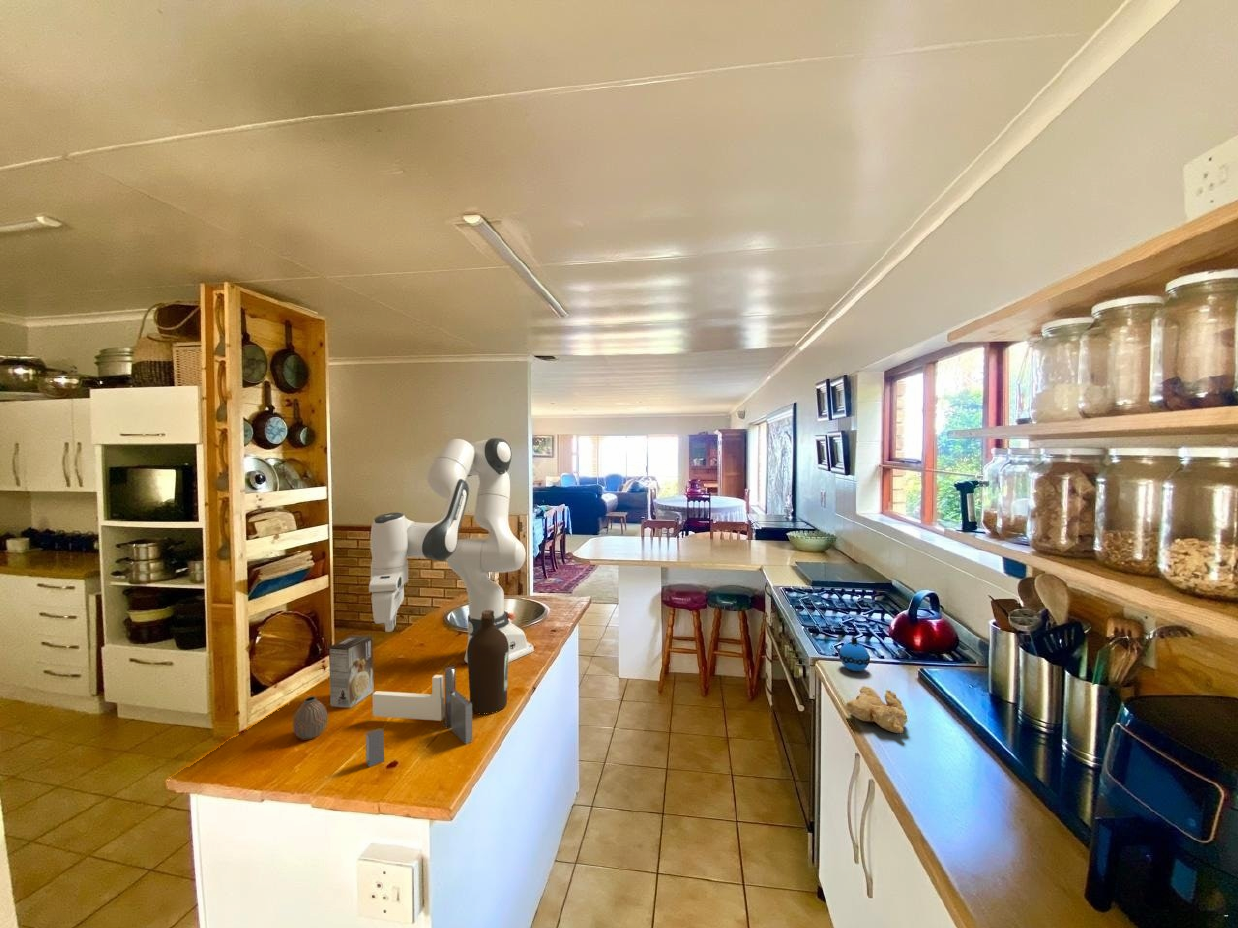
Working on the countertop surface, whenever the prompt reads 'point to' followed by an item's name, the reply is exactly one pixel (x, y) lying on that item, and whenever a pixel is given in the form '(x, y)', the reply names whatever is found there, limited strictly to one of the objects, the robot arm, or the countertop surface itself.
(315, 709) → the vase
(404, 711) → the gate
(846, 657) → the ornament
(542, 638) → the countertop surface
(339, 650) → the coffee box
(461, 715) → the gate posts
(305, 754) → the countertop surface
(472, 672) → the olive oil
